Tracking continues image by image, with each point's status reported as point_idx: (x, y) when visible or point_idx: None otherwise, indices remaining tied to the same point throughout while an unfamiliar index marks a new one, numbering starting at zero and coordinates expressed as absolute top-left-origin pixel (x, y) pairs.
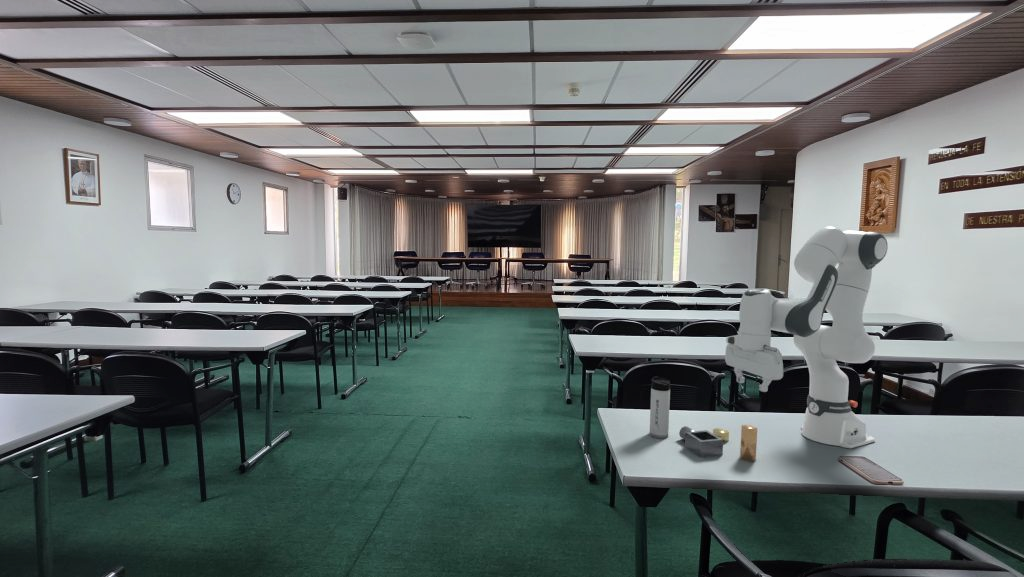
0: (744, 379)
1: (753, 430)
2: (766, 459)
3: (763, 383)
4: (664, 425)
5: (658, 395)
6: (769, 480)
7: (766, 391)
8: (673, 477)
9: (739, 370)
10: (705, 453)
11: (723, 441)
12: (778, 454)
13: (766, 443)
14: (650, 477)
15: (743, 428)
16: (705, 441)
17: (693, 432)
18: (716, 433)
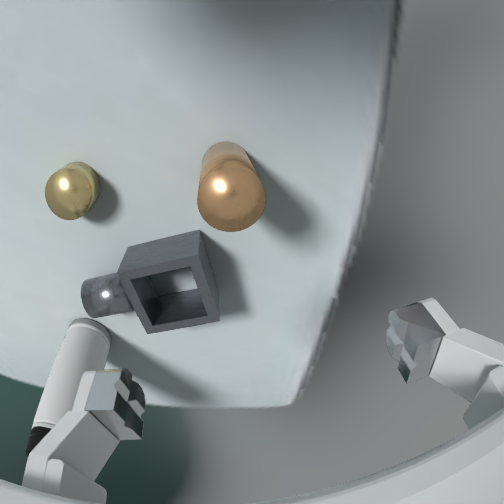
0: (116, 390)
1: (264, 198)
2: (232, 105)
3: (461, 385)
4: (101, 357)
5: None
6: (359, 180)
7: (427, 301)
8: (308, 359)
9: (91, 487)
10: (214, 285)
11: (98, 186)
12: (194, 44)
13: (103, 43)
14: (301, 385)
15: (238, 229)
16: (216, 309)
17: (145, 316)
18: (82, 214)
